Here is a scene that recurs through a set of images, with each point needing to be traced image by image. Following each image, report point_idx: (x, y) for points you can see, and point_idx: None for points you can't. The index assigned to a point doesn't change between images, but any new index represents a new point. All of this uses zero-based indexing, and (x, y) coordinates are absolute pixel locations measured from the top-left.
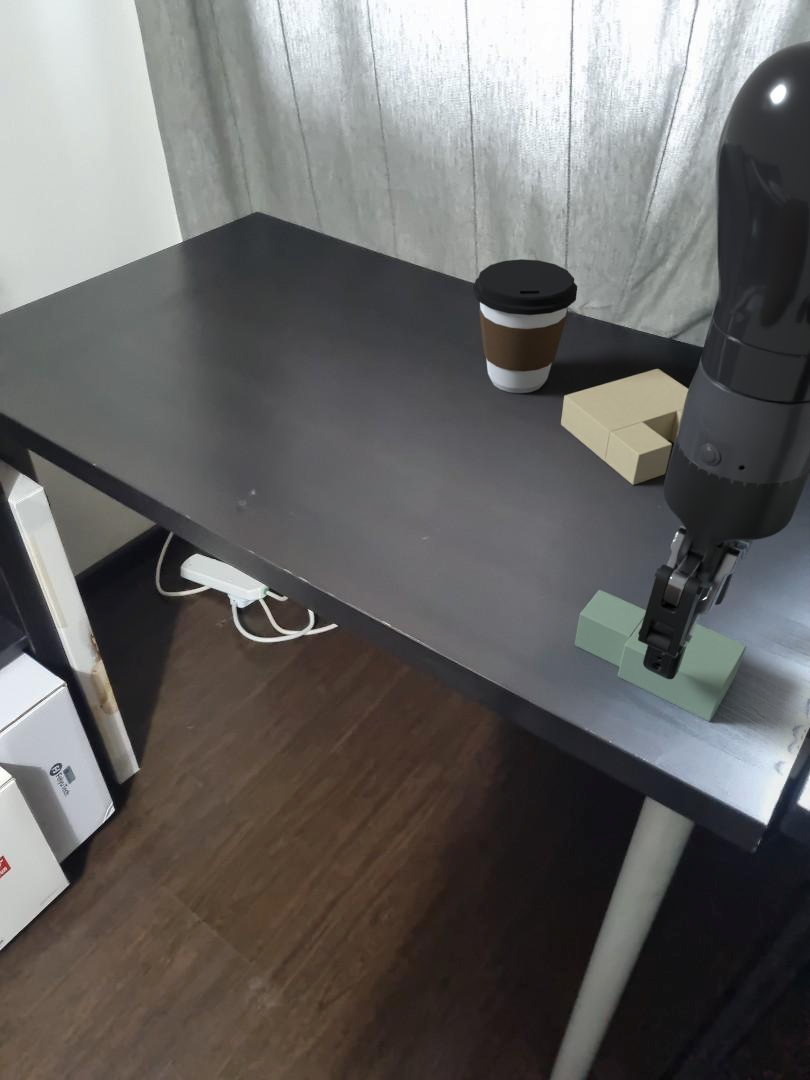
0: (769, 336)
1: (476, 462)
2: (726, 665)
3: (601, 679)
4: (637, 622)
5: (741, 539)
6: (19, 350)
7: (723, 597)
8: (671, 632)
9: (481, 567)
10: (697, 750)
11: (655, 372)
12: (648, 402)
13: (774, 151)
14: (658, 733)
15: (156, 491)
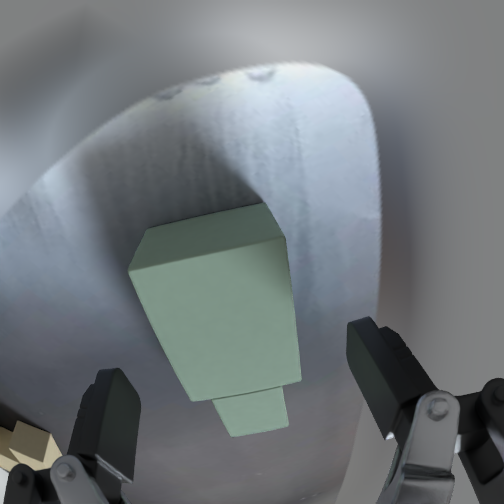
0: None
1: (159, 488)
2: (213, 267)
3: (302, 337)
4: (246, 396)
5: None
6: None
7: (106, 379)
8: (482, 433)
9: (252, 453)
10: (326, 185)
11: None
12: (8, 463)
13: None
14: (335, 241)
15: (333, 499)
